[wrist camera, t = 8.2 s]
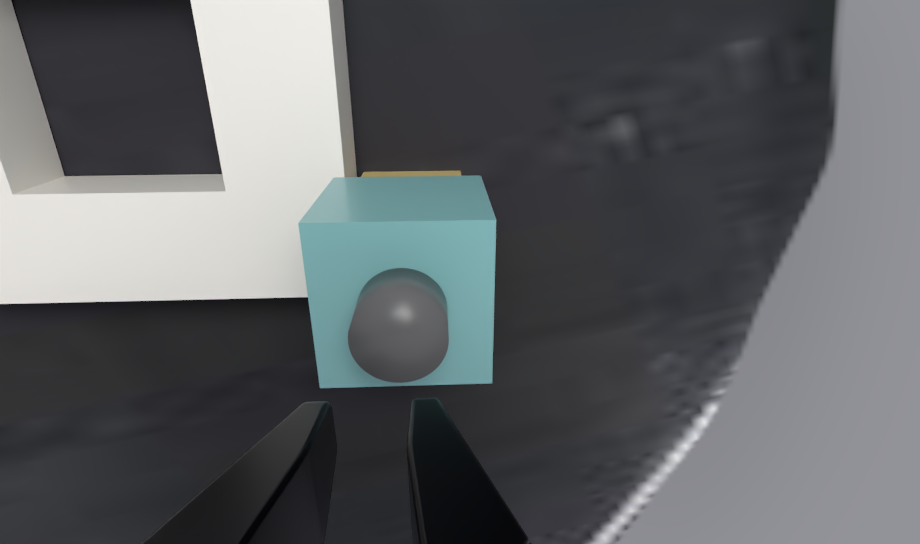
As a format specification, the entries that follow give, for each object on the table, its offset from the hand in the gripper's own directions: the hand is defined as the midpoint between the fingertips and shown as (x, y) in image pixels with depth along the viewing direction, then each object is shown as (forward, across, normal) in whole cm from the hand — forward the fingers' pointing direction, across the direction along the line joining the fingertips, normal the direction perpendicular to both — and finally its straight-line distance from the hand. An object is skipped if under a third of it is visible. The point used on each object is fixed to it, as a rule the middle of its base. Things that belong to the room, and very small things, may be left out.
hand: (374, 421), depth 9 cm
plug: (+12, 0, 0) cm, 12 cm away
